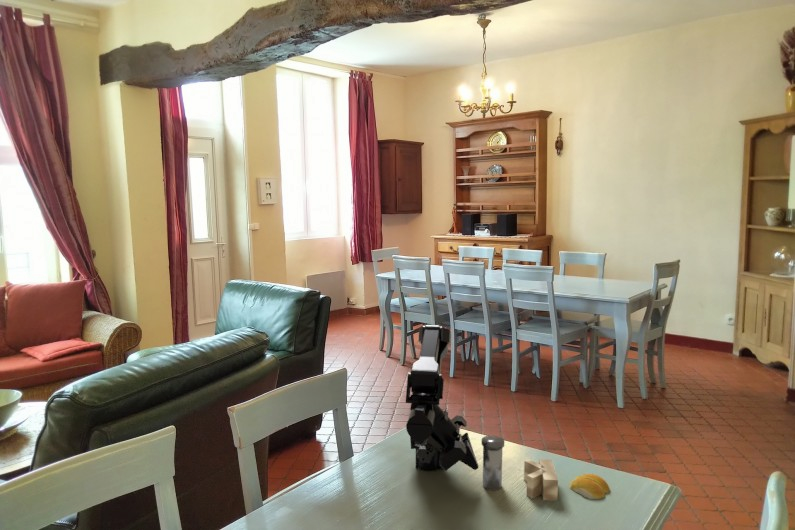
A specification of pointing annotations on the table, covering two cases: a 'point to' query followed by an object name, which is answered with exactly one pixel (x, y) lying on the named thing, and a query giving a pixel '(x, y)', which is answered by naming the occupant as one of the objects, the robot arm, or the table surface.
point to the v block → (541, 479)
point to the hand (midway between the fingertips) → (476, 468)
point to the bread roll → (590, 486)
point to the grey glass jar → (492, 462)
